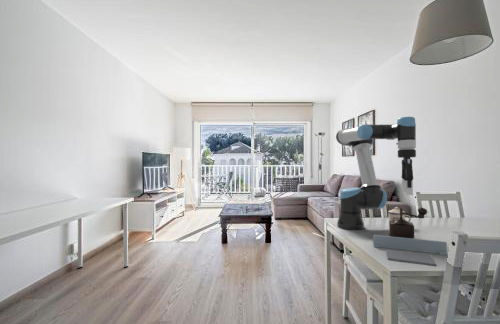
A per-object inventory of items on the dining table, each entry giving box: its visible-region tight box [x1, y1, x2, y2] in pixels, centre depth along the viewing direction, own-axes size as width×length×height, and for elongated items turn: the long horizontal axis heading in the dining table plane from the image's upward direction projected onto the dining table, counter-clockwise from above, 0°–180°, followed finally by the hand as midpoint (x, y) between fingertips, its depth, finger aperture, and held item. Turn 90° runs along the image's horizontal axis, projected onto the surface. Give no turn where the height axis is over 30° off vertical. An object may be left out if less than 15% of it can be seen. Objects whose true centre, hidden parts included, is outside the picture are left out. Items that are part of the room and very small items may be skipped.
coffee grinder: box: [388, 207, 428, 239], centre depth 127 cm, size 16×11×18 cm
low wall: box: [372, 234, 448, 256], centre depth 118 cm, size 4×28×5 cm, turn 66°
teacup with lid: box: [388, 206, 412, 222], centre depth 159 cm, size 12×9×12 cm
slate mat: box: [385, 248, 437, 267], centre depth 108 cm, size 12×16×1 cm
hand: (407, 193), depth 127 cm, fingers open, 13 cm apart
